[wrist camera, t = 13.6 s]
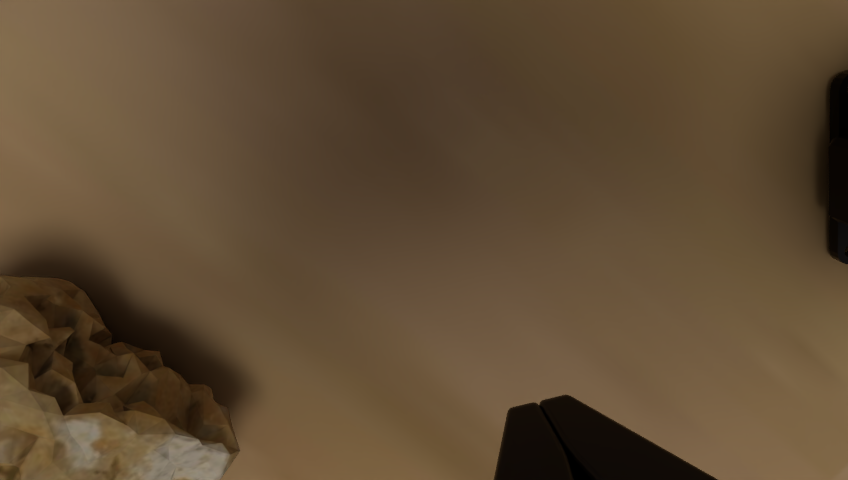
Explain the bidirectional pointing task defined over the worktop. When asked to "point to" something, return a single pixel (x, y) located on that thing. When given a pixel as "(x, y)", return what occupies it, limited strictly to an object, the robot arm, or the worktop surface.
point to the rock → (96, 398)
